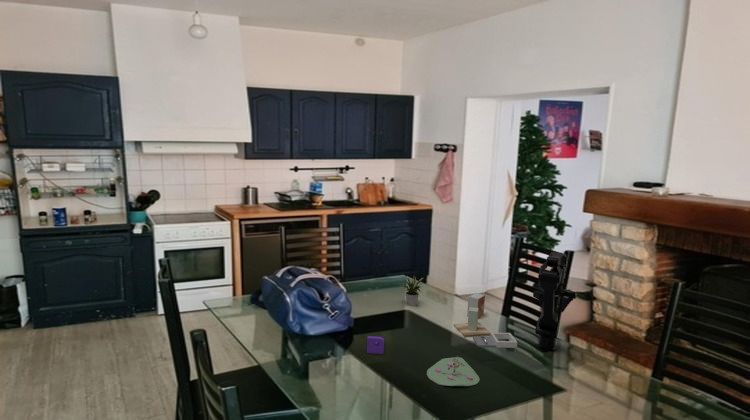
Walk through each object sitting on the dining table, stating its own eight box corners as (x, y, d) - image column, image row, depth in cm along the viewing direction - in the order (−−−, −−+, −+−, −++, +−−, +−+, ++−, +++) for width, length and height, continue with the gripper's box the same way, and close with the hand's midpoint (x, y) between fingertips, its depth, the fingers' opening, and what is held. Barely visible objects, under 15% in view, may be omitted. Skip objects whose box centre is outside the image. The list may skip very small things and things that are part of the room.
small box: (477, 319, 245) (478, 299, 243) (466, 316, 248) (468, 296, 247) (484, 314, 251) (485, 295, 250) (473, 312, 255) (475, 292, 253)
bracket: (383, 354, 204) (384, 339, 203) (366, 353, 205) (367, 338, 204) (384, 342, 216) (384, 327, 215) (368, 341, 217) (369, 326, 215)
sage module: (477, 327, 232) (478, 308, 231) (476, 331, 228) (477, 311, 226) (468, 326, 234) (469, 306, 232) (467, 330, 229) (468, 310, 227)
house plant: (392, 307, 258) (394, 276, 255) (399, 298, 271) (400, 269, 268) (419, 310, 254) (421, 280, 251) (424, 301, 267) (426, 272, 264)
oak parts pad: (491, 335, 226) (491, 333, 226) (464, 337, 223) (464, 335, 223) (479, 324, 239) (479, 322, 238) (453, 325, 236) (453, 323, 235)
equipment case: (509, 338, 224) (510, 332, 223) (516, 347, 214) (517, 342, 214) (472, 337, 223) (472, 332, 223) (478, 347, 213) (478, 341, 213)
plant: (425, 356, 204) (426, 336, 203) (475, 359, 203) (477, 339, 202) (427, 387, 180) (428, 364, 178) (484, 391, 178) (486, 368, 177)
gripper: (563, 274, 234) (560, 305, 236) (528, 275, 230) (525, 307, 232) (578, 281, 223) (575, 314, 226) (541, 282, 219) (538, 316, 222)
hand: (552, 312), depth 227 cm, fingers open, 9 cm apart
